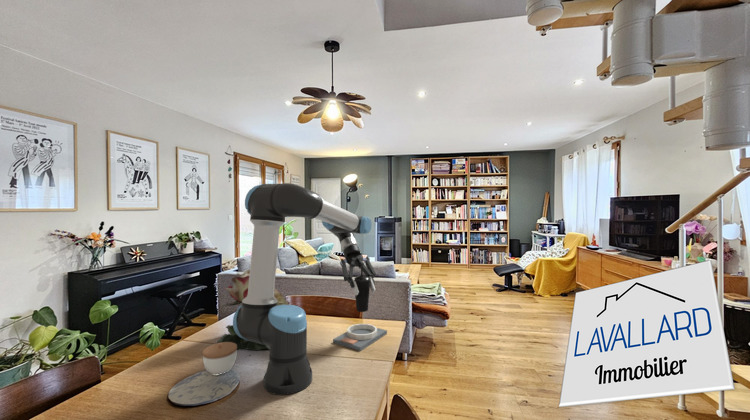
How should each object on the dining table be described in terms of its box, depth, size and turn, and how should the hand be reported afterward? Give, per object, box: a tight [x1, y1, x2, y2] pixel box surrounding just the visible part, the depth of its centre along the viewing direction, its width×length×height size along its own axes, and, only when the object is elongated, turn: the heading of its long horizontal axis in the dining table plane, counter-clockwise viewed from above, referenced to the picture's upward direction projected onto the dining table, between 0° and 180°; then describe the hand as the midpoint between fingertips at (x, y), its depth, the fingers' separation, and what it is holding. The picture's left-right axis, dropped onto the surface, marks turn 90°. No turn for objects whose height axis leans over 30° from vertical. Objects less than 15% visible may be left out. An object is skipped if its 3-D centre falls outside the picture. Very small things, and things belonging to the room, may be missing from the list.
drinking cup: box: [352, 264, 371, 313], centre depth 138 cm, size 8×8×20 cm
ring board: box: [332, 323, 388, 352], centre depth 137 cm, size 20×14×4 cm
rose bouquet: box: [209, 269, 291, 351], centre depth 138 cm, size 26×29×30 cm
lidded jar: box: [202, 342, 238, 375], centre depth 110 cm, size 11×11×9 cm
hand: (365, 292), depth 135 cm, fingers closed on drinking cup, 7 cm apart
